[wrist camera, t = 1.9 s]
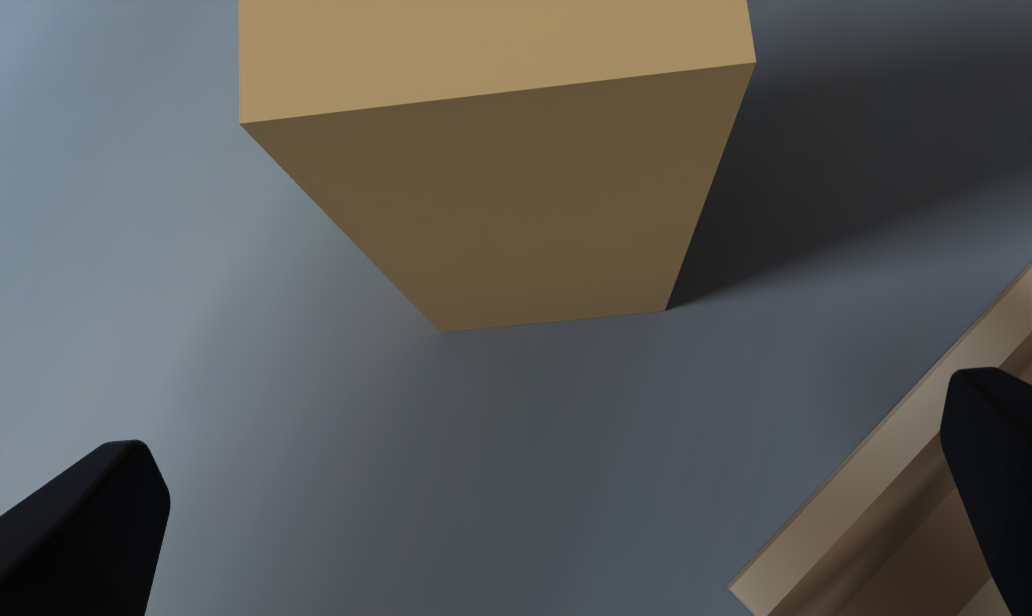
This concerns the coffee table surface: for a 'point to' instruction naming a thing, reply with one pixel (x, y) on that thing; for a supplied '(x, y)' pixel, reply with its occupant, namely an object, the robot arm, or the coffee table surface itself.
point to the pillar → (502, 141)
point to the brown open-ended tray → (895, 505)
